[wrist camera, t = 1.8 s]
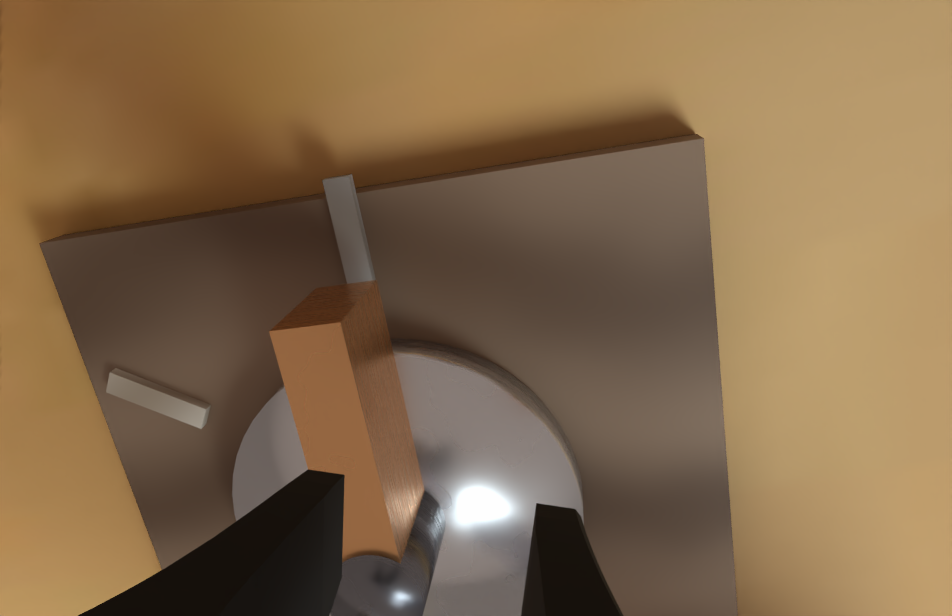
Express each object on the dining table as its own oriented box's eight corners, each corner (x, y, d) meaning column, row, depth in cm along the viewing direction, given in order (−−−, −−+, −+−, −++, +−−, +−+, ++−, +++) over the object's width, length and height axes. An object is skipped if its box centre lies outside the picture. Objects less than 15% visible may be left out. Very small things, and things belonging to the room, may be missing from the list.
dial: (602, 622, 22) (610, 754, 18) (296, 636, 23) (238, 759, 19) (546, 244, 18) (540, 300, 14) (188, 293, 20) (87, 356, 16)
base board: (737, 688, 23) (747, 723, 22) (233, 703, 26) (217, 734, 25) (695, 113, 18) (704, 117, 16) (57, 218, 21) (24, 228, 19)
